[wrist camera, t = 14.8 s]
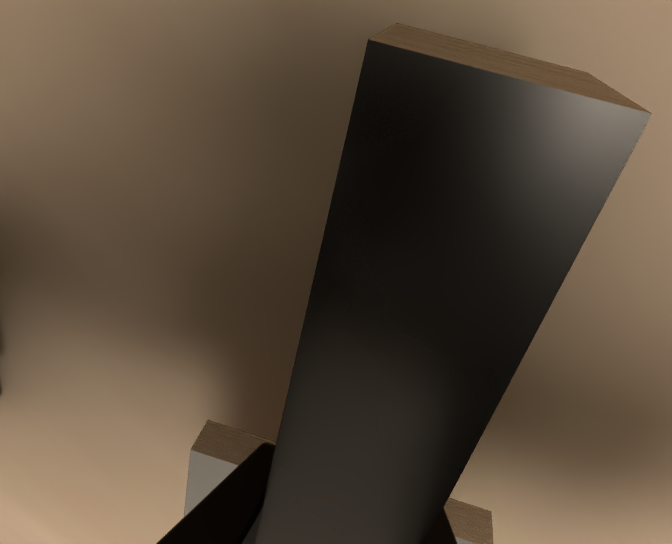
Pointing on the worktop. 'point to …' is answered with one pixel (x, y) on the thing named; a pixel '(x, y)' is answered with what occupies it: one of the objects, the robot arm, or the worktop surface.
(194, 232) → the worktop surface
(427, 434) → the turner
